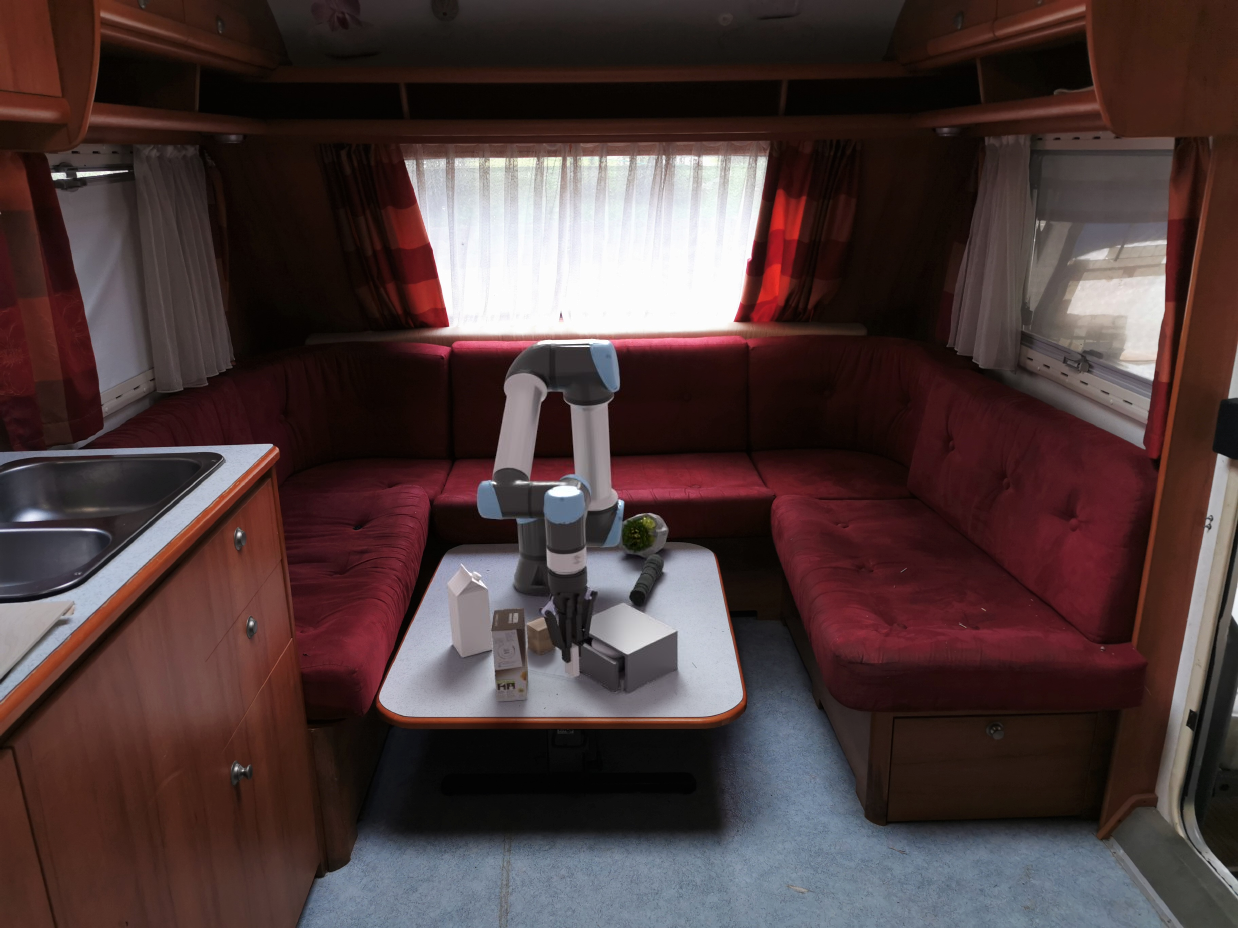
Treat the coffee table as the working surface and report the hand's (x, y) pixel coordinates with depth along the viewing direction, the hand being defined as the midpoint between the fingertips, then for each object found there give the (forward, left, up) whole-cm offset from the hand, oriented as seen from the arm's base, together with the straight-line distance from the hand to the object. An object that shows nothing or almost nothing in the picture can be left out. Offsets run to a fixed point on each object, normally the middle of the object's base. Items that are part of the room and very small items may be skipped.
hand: (572, 673), depth 180 cm
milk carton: (-31, -4, -6) cm, 32 cm away
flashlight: (-26, +44, -6) cm, 51 cm away
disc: (-2, +12, 0) cm, 12 cm away
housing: (-2, +16, -5) cm, 17 cm away
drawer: (-2, +13, -5) cm, 14 cm away
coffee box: (-11, -7, -6) cm, 14 cm away
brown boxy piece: (-20, +7, -5) cm, 22 cm away
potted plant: (-41, +57, -6) cm, 70 cm away
